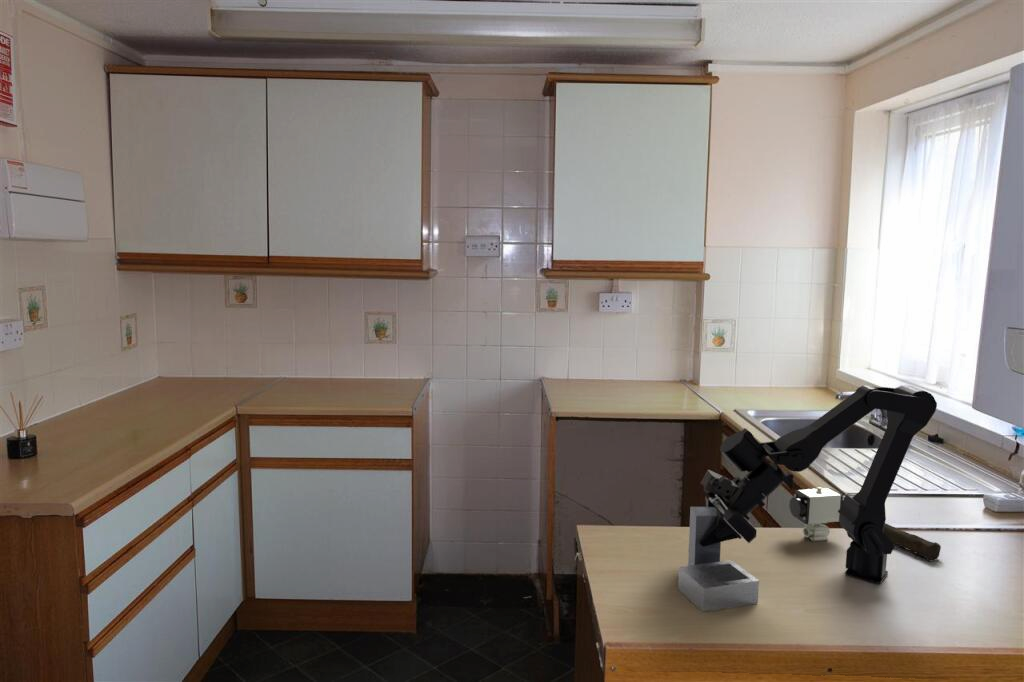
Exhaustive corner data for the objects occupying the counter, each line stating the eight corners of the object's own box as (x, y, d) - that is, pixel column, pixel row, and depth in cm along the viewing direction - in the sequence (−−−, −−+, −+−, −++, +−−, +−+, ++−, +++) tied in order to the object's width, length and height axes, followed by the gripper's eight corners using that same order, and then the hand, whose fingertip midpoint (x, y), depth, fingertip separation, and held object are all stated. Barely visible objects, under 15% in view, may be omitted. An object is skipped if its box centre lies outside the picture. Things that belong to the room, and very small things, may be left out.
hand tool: (941, 560, 152) (943, 539, 151) (928, 563, 150) (930, 542, 150) (867, 528, 169) (868, 509, 168) (854, 530, 167) (856, 511, 167)
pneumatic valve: (845, 541, 161) (849, 489, 159) (798, 544, 158) (802, 492, 157) (830, 531, 166) (833, 481, 164) (784, 534, 164) (787, 484, 162)
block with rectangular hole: (730, 581, 140) (731, 560, 140) (757, 603, 132) (758, 580, 131) (678, 589, 137) (679, 566, 136) (702, 611, 129) (703, 588, 128)
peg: (712, 565, 147) (714, 506, 145) (719, 576, 142) (721, 516, 140) (688, 565, 147) (690, 506, 145) (694, 576, 142) (696, 515, 140)
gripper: (715, 445, 150) (661, 495, 152) (742, 473, 132) (680, 530, 134) (750, 481, 151) (696, 531, 153) (782, 514, 133) (721, 570, 135)
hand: (697, 539), depth 143 cm, fingers closed on peg, 5 cm apart
